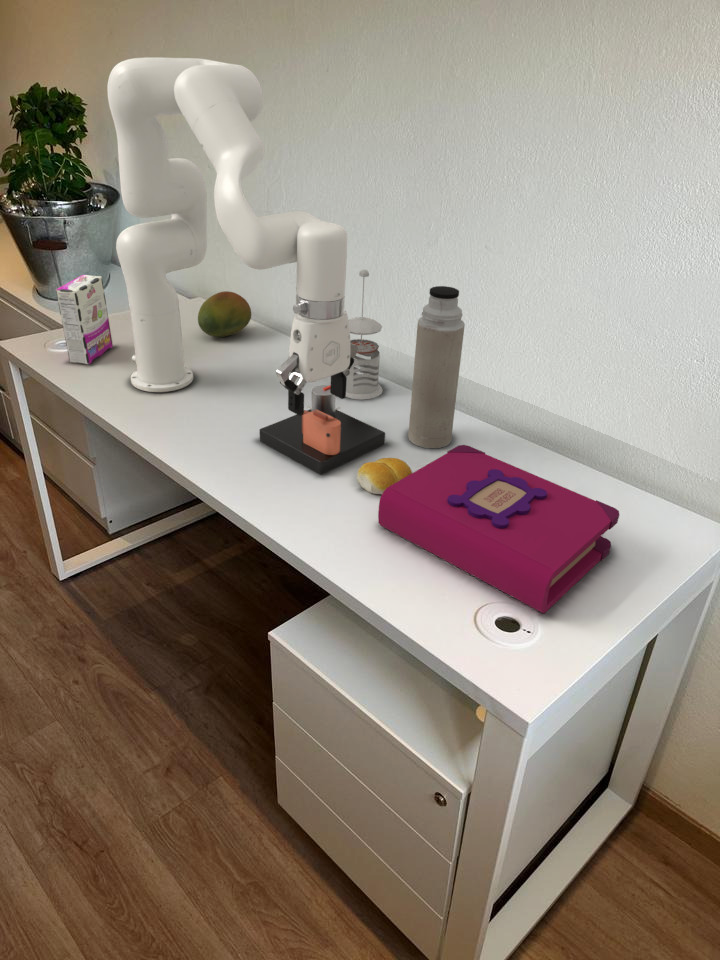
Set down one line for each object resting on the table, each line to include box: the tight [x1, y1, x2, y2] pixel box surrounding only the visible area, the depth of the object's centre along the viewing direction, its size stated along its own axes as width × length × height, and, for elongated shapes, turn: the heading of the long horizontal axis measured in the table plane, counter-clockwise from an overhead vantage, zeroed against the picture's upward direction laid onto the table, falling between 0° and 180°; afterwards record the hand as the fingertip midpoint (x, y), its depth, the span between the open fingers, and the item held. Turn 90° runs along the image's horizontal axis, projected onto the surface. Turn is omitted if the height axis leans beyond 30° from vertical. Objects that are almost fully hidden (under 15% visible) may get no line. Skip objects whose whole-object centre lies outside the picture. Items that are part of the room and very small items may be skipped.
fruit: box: [197, 290, 252, 338], centre depth 175 cm, size 12×13×10 cm
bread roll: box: [356, 457, 413, 495], centre depth 122 cm, size 8×9×4 cm
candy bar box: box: [55, 274, 114, 365], centre depth 160 cm, size 11×5×16 cm, turn 168°
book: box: [377, 444, 620, 614], centre depth 108 cm, size 21×28×8 cm
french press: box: [345, 269, 384, 401], centre depth 147 cm, size 10×12×25 cm
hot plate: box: [258, 406, 386, 476], centre depth 133 cm, size 17×17×3 cm
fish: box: [302, 409, 342, 455], centre depth 126 cm, size 8×3×6 cm, turn 46°
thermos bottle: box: [407, 285, 466, 449], centre depth 130 cm, size 8×8×28 cm
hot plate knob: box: [311, 384, 337, 417], centre depth 136 cm, size 4×4×5 cm
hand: (317, 404), depth 125 cm, fingers open, 9 cm apart
